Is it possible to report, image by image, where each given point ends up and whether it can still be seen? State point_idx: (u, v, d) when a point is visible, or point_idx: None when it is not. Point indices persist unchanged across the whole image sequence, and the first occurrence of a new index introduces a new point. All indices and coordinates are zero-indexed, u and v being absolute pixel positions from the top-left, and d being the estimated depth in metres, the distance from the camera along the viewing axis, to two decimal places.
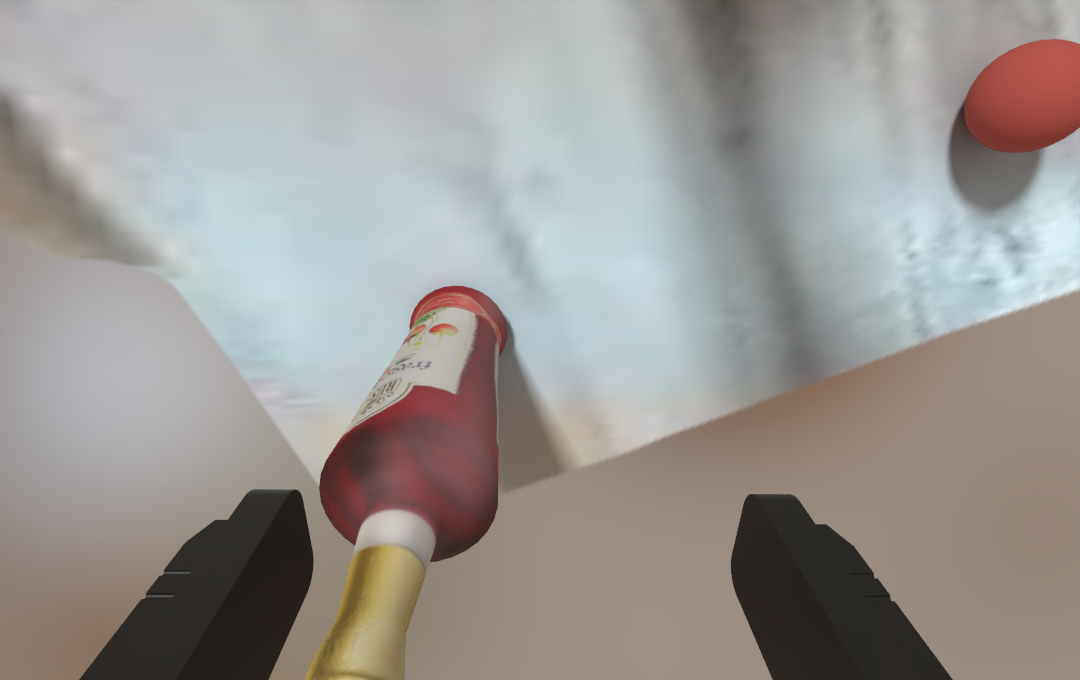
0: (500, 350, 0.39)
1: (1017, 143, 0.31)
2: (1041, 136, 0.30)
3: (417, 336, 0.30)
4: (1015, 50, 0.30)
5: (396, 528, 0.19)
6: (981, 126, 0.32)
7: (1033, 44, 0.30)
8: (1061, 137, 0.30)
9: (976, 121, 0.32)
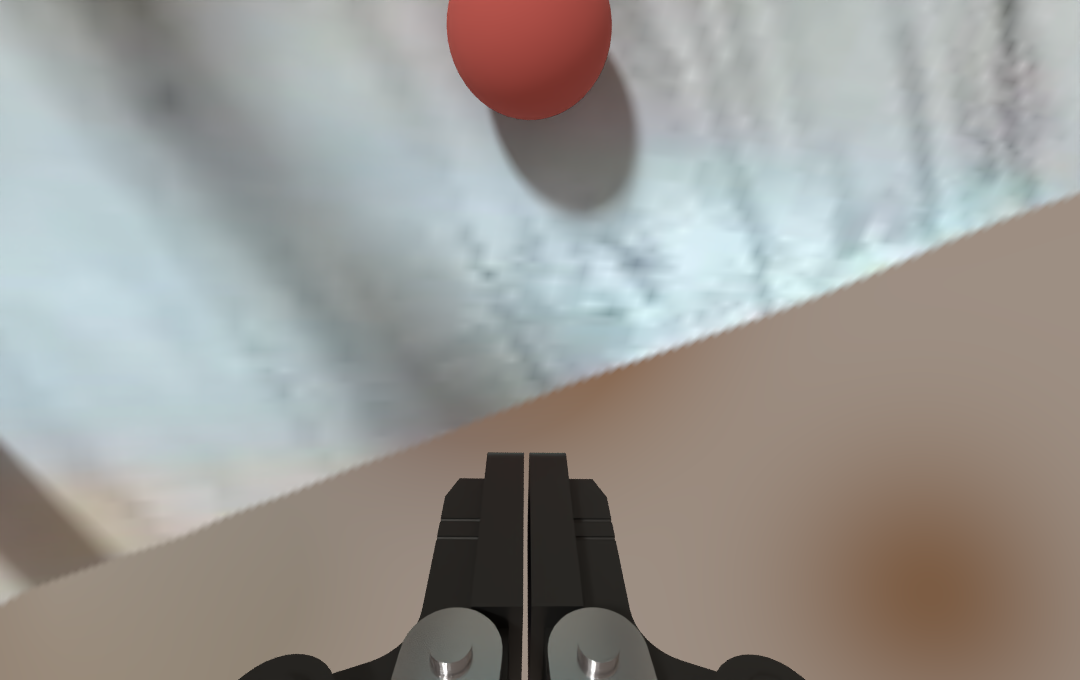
0: None
1: (500, 102, 0.19)
2: (515, 89, 0.18)
3: None
4: None
5: None
6: (461, 77, 0.20)
7: None
8: (553, 91, 0.19)
9: None
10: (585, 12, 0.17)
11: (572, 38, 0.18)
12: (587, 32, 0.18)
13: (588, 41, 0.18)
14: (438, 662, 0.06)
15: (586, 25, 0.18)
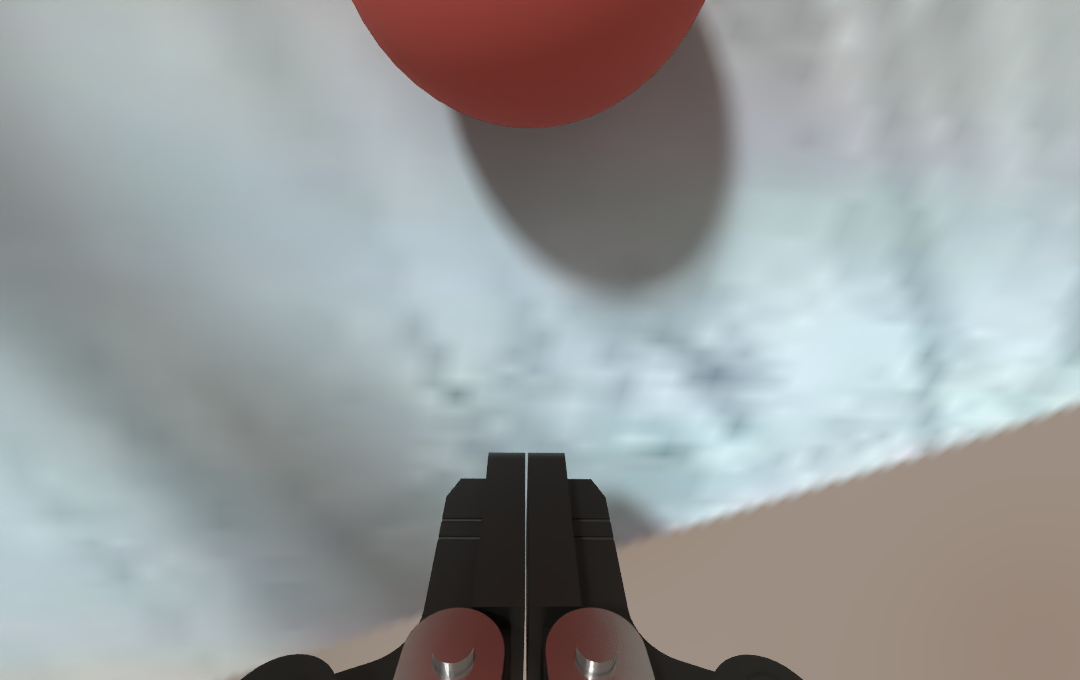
0: None
1: (456, 88, 0.08)
2: (492, 51, 0.07)
3: None
4: None
5: None
6: (369, 29, 0.09)
7: None
8: (590, 59, 0.07)
9: None
10: None
11: None
12: None
13: None
14: (441, 662, 0.06)
15: None
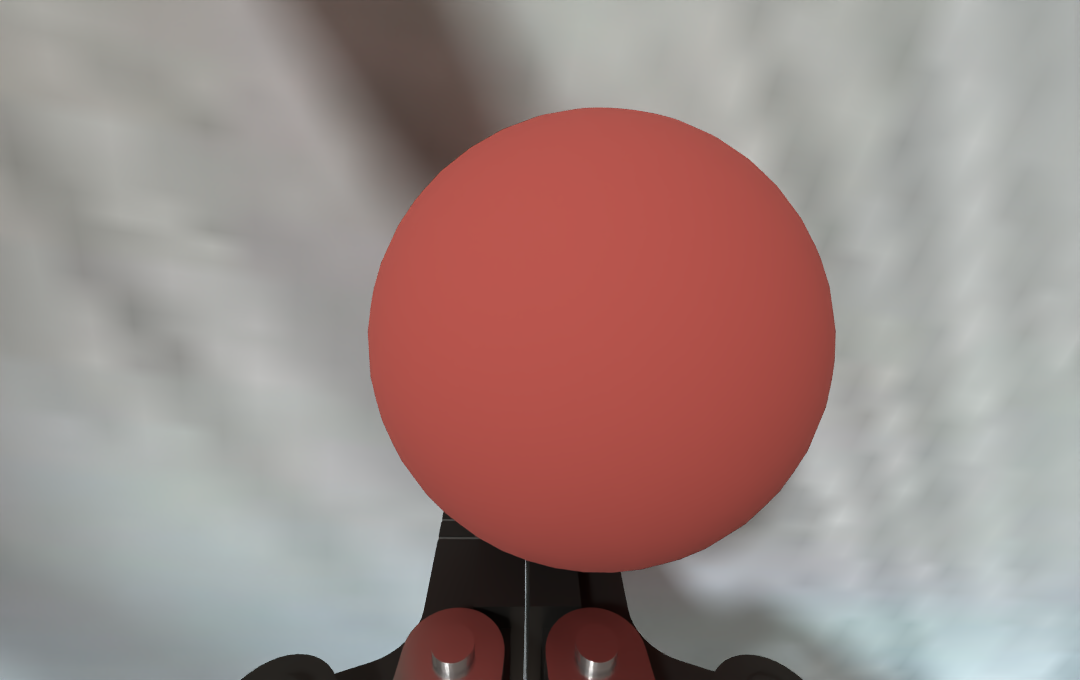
0: None
1: (546, 367, 0.05)
2: (612, 267, 0.05)
3: None
4: None
5: None
6: (392, 405, 0.06)
7: None
8: (753, 289, 0.05)
9: (383, 409, 0.06)
10: None
11: (755, 170, 0.06)
12: None
13: (793, 208, 0.06)
14: (441, 662, 0.06)
15: None
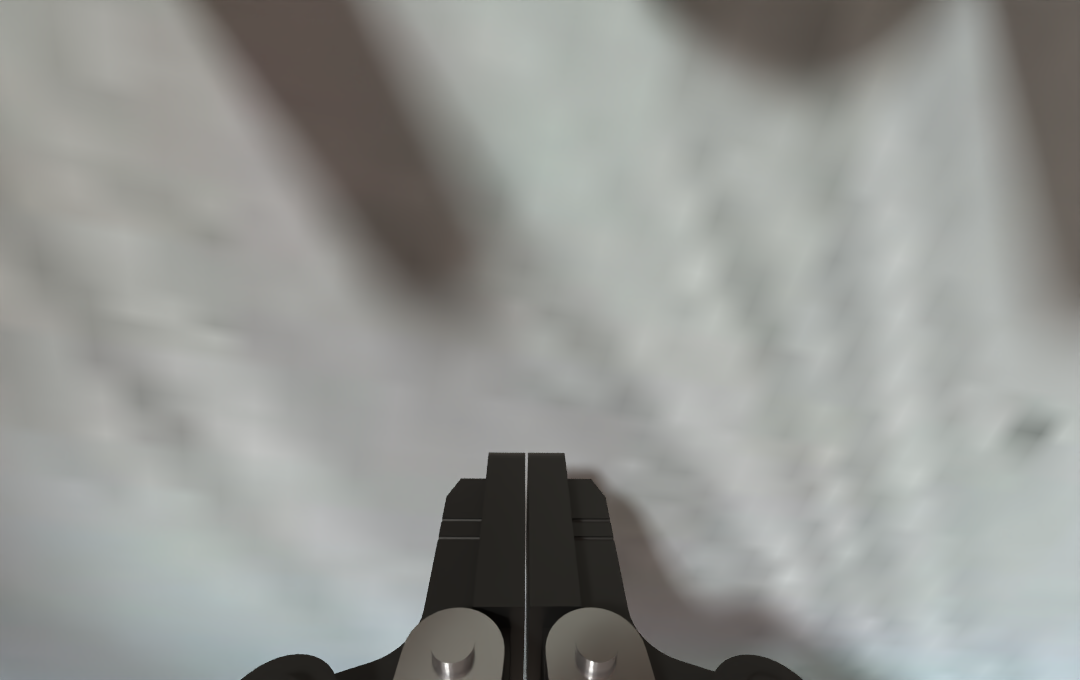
0: None
1: None
2: None
3: None
4: None
5: None
6: None
7: None
8: None
9: None
10: None
11: None
12: None
13: None
14: (440, 662, 0.06)
15: None
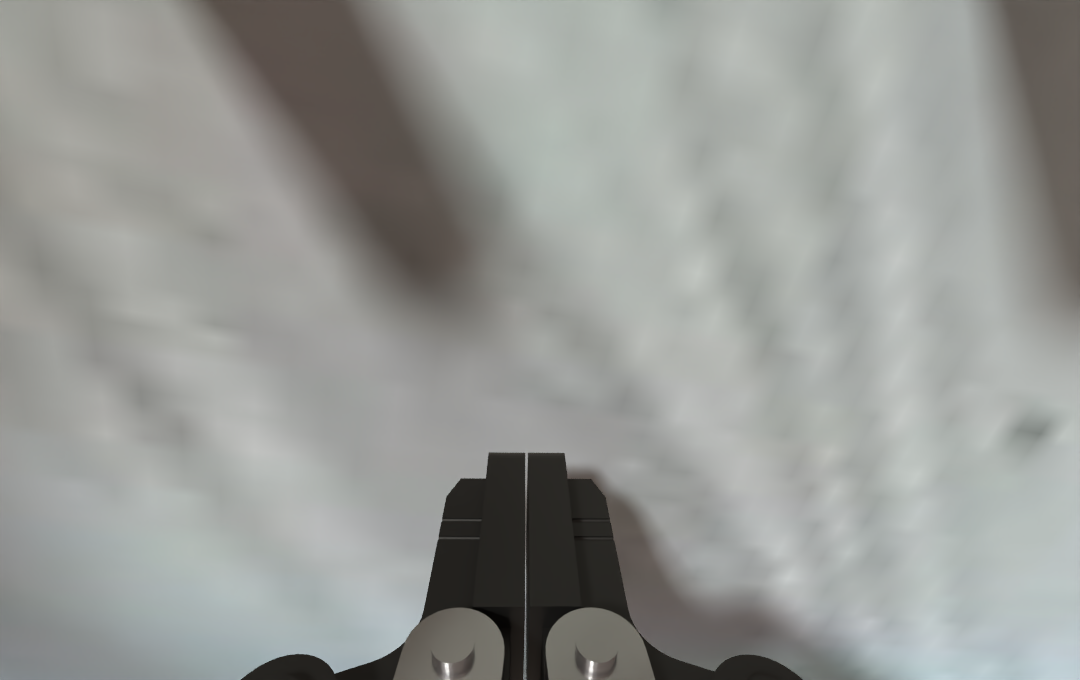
0: None
1: None
2: None
3: None
4: None
5: None
6: None
7: None
8: None
9: None
10: None
11: None
12: None
13: None
14: (440, 662, 0.06)
15: None
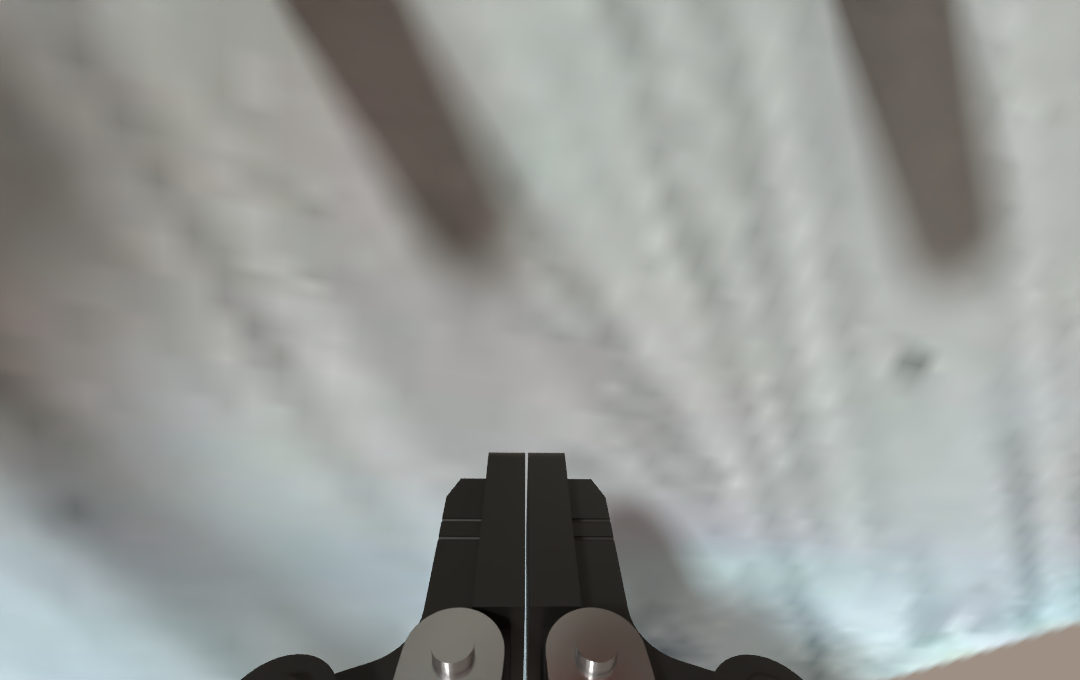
0: None
1: None
2: None
3: None
4: None
5: None
6: None
7: None
8: None
9: None
10: None
11: None
12: None
13: None
14: (441, 662, 0.06)
15: None
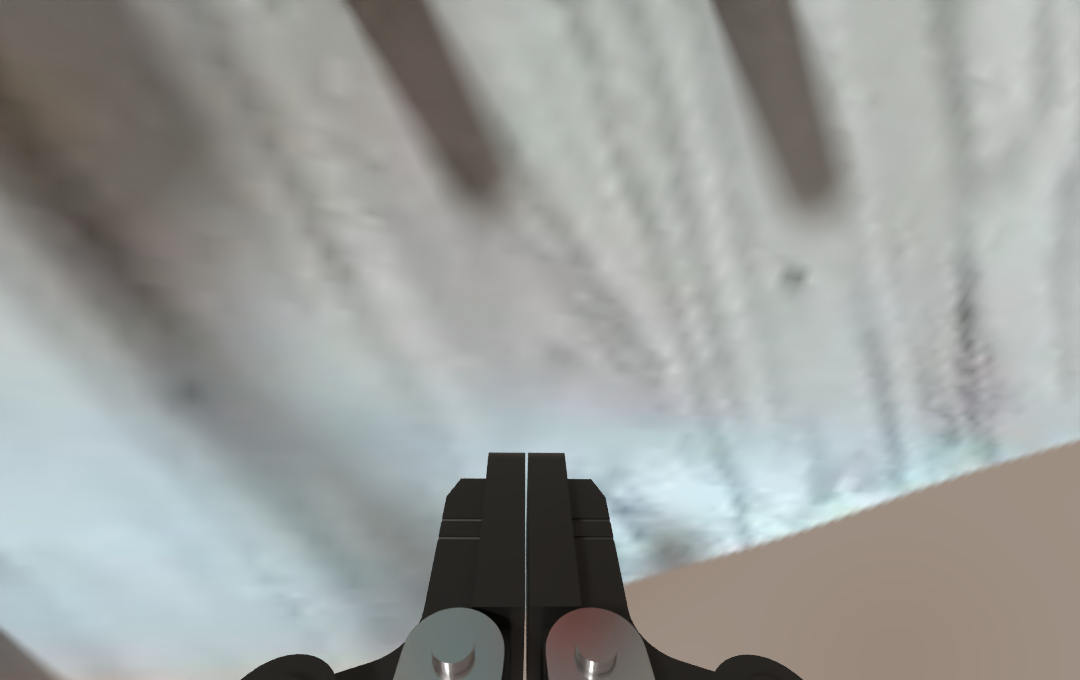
0: None
1: None
2: None
3: None
4: None
5: None
6: None
7: None
8: None
9: None
10: None
11: None
12: None
13: None
14: (441, 662, 0.06)
15: None
